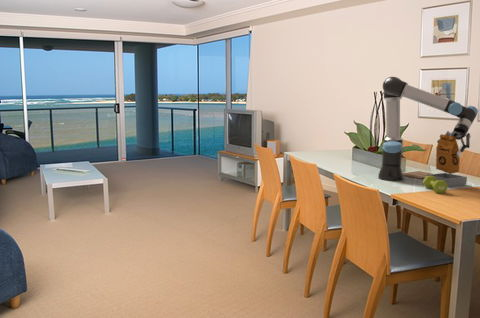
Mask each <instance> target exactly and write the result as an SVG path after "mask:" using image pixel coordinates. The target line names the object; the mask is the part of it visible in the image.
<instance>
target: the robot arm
mask: <svg viewBox="0 0 480 318" xmlns="http://www.w3.org/2000/svg"><path fill="white" fill-rule="evenodd" d="M382 90H383V100H385V105H386V106H385V108H386V109H385V110H386V111H385V112H386V115H385V116H386V117H385V119H386V120H385V122H386V126H385V127H386V128H385V129H386V135H385V136H386V137H385V138H384V139H383V143H382V147H381V148H382V153H381V156H382V158H381V167H380V169H379V172H378V175H377V177H378V179H380V180H384V181H395V182H396V181H402V180H404V176H403V175H402V173H403V170H402V167H401V166H402V156H403V152H404V148H403V145H404V143H403V138H402V137H401V100H402V99H403V98H406V99H409V100H411V101H414V102H417V103H419V104H423V105H425V106H427V107H429V108H433V109H436V110H439V111H440V112H444V113H446V114H450V115H451V116H454V117H456V118H458V121H457V123H456V124H455V126H454V128H453V131H451V132H450V131H449V130H447V131H446V132H445V134H444V135H448V136H452V137H455V138H456V141H457V140H458V141H461V145H460V146H459V147H458V148H459V150H458V152H457V156H458V157H459V158H460V156H461V154H462V153H463V152H464V151H465V149H466V148H467V149H470V141H471V140H470V139H471V133H470V132H469V130H470V128H471V126H472V125H473V122H474V121H475V120H476V118H477V115H478V113H479V110H478V108H477V107H475V106H472V105H468V106H464V105H462V104H461V103H459V102H457V101H454V100H452V99H448V98H445V97H442V96H440V95H438V94H434V93H431V92H429V91H426V90H423V89H420V88H417V87H415V86H413V85H409V83H408V82H406V81H403V80H401V78H399V77H396V76H389V77H387V78H386V79H384V81H383V83H382ZM464 138H466V139H465V141H464ZM439 140H440V138H439V139H438V140H437V141H436V142H437V143H438V142H439ZM435 151H436V150H435ZM436 152H437V151H436Z"/></svg>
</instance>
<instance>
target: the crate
mask: <svg viewBox="0 0 480 318" xmlns="http://www.w3.org/2000/svg"><path fill="white" fill-rule="evenodd" d="M427 176H434V177H435V178H436V180H443V181H445V182H446V184H447V186H448V188H447V189H449V188H455V187H462V186H467V181H468V180H467V179H468V176H465V175H460V174H456V173H452V174H450V173H447V172H440V173H432V174H430V175H427Z"/></svg>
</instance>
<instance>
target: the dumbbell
mask: <svg viewBox="0 0 480 318" xmlns="http://www.w3.org/2000/svg"><path fill="white" fill-rule="evenodd" d="M422 180H423V181H422V184H423V186H424V187H425V189H432V190H433V191H434V192H435V193H436V194H444V193H445V192H447V190H448V189H449V188H448V186H447V184H446V182H445V181H443V180H436V178H435V177H434V176H426V177H425V179H422Z"/></svg>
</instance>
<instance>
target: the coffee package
mask: <svg viewBox="0 0 480 318" xmlns="http://www.w3.org/2000/svg"><path fill="white" fill-rule="evenodd" d="M439 139H440V140H439ZM439 139H438V140H439V142H437V145H436V149H435V151H437V152H436V160H435V161H436V162H435V163H436V164H435V166H436V167H435V169H436V170H439V171H441V172H443V173H449V174H456V173H459V172H460V161H461V160H460V156H459V157H458V156H457V152H458V150H459V148H460V147H459V145H458V141H457V139H456V138H455V137H452V136H448V135H445V134H443V133H442V134H440V135H439Z"/></svg>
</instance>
